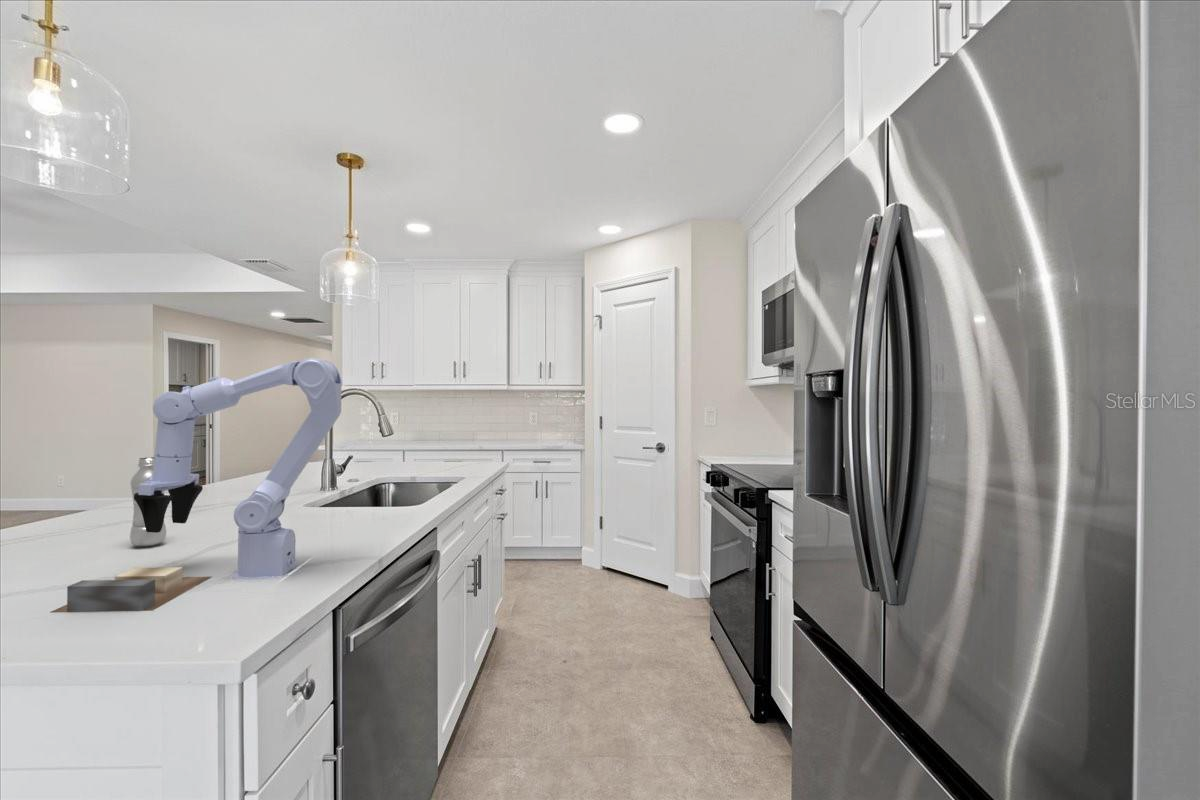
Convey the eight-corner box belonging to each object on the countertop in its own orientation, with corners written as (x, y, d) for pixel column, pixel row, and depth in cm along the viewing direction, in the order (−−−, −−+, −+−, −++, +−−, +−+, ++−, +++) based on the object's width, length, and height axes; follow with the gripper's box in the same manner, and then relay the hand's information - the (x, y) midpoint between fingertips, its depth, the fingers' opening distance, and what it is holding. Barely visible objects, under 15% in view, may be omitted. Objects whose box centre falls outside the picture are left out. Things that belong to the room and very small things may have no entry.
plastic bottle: (173, 542, 134) (174, 456, 134) (151, 549, 127) (152, 459, 127) (144, 541, 134) (146, 456, 134) (121, 549, 127) (122, 459, 127)
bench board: (212, 579, 109) (212, 555, 109) (152, 614, 92) (152, 585, 92) (126, 580, 107) (127, 556, 107) (49, 616, 90) (50, 586, 90)
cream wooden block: (182, 583, 104) (182, 567, 104) (164, 593, 99) (165, 576, 99) (135, 584, 104) (135, 567, 104) (114, 594, 99) (114, 576, 99)
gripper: (175, 450, 116) (168, 517, 115) (123, 457, 101) (115, 534, 101) (212, 453, 116) (206, 520, 116) (166, 461, 102) (158, 537, 102)
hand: (166, 527), depth 109 cm, fingers open, 7 cm apart
